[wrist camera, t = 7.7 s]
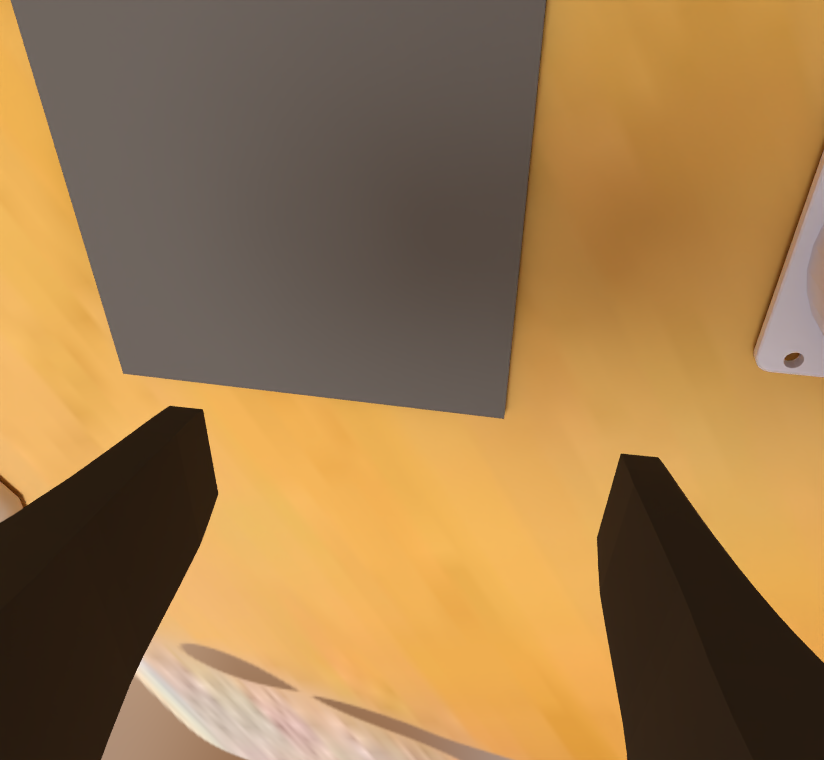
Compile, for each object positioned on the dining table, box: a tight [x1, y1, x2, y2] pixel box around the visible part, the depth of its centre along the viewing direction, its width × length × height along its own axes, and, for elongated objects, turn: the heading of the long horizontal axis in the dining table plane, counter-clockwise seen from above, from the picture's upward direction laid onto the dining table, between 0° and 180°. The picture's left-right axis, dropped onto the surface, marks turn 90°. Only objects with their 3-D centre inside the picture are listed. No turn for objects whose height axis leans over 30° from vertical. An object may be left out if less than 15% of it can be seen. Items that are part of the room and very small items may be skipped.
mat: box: [11, 0, 546, 419], centre depth 20 cm, size 14×14×1 cm
